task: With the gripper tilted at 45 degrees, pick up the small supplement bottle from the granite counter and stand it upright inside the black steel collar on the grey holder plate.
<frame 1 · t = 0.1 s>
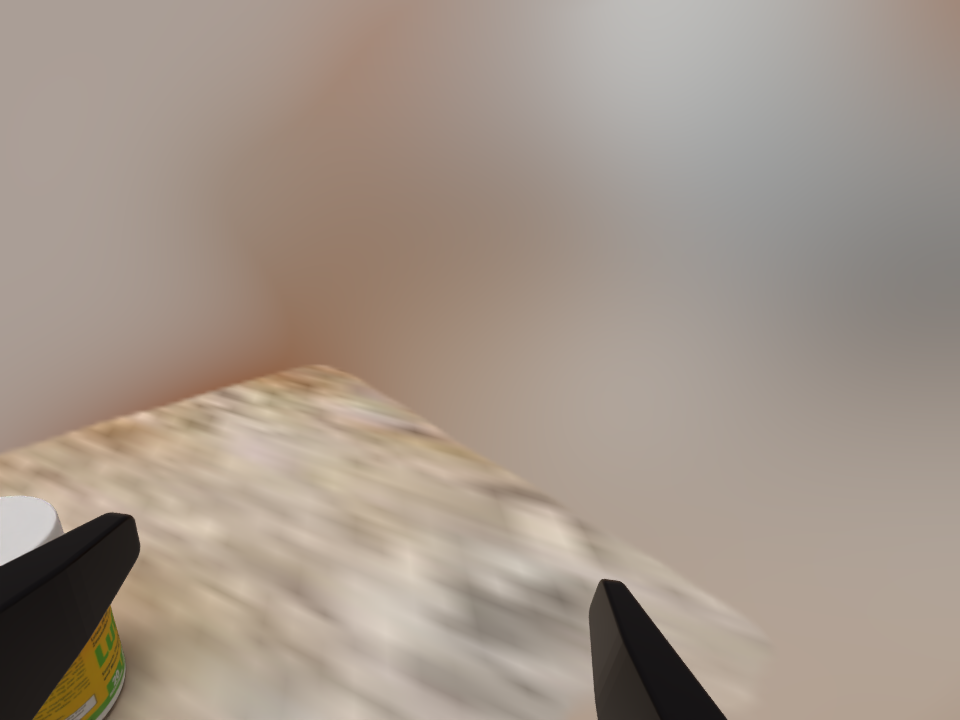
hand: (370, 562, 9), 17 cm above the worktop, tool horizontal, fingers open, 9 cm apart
supplement bottle: (50, 705, 20), on the worktop
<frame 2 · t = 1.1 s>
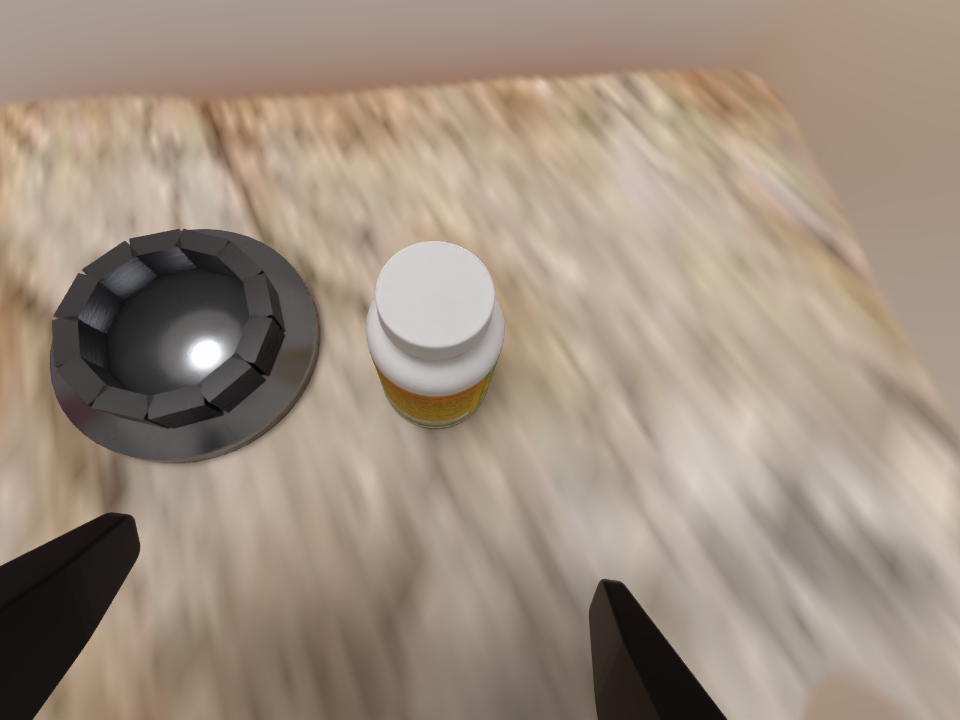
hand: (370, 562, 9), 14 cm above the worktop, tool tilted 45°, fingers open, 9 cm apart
collar holder: (198, 343, 24), on the worktop
supplement bottle: (436, 379, 25), on the worktop
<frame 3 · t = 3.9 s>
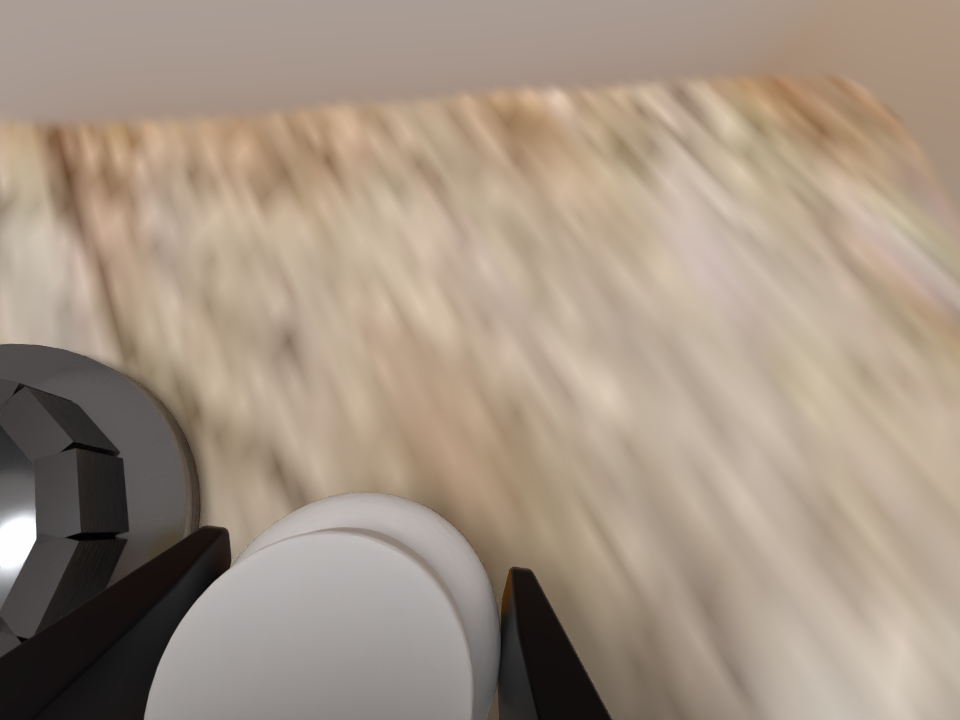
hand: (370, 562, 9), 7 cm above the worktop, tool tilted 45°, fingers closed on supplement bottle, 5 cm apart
supplement bottle: (390, 594, 15), on the worktop, touching gripper
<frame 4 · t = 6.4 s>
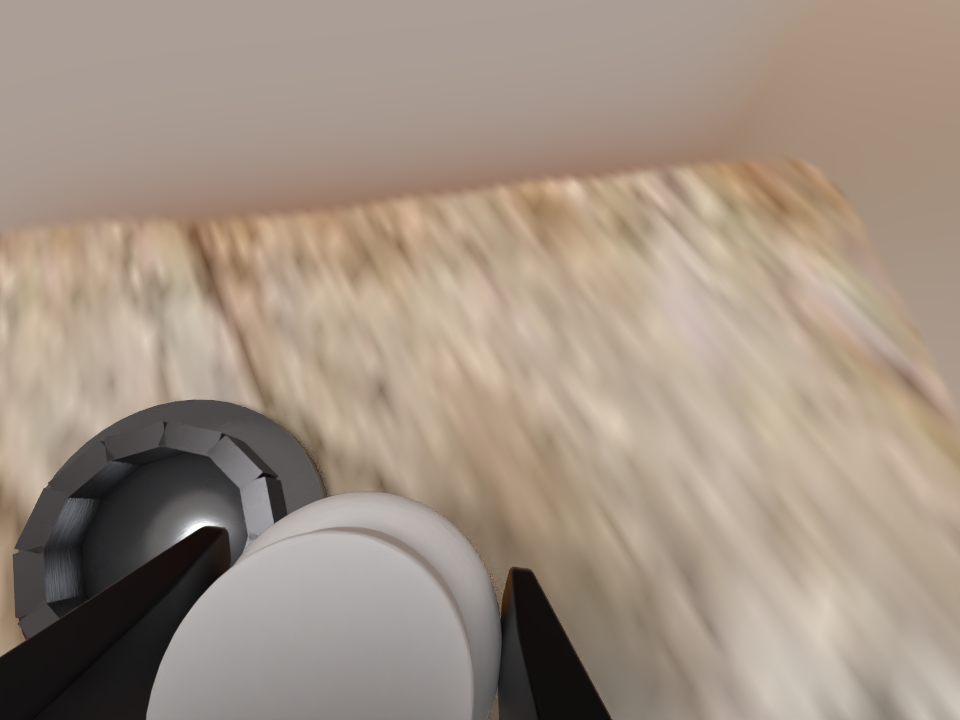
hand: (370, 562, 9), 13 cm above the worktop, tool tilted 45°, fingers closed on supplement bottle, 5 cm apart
collar holder: (190, 539, 21), on the worktop
supplement bottle: (392, 593, 15), point 6 cm above the worktop, touching gripper
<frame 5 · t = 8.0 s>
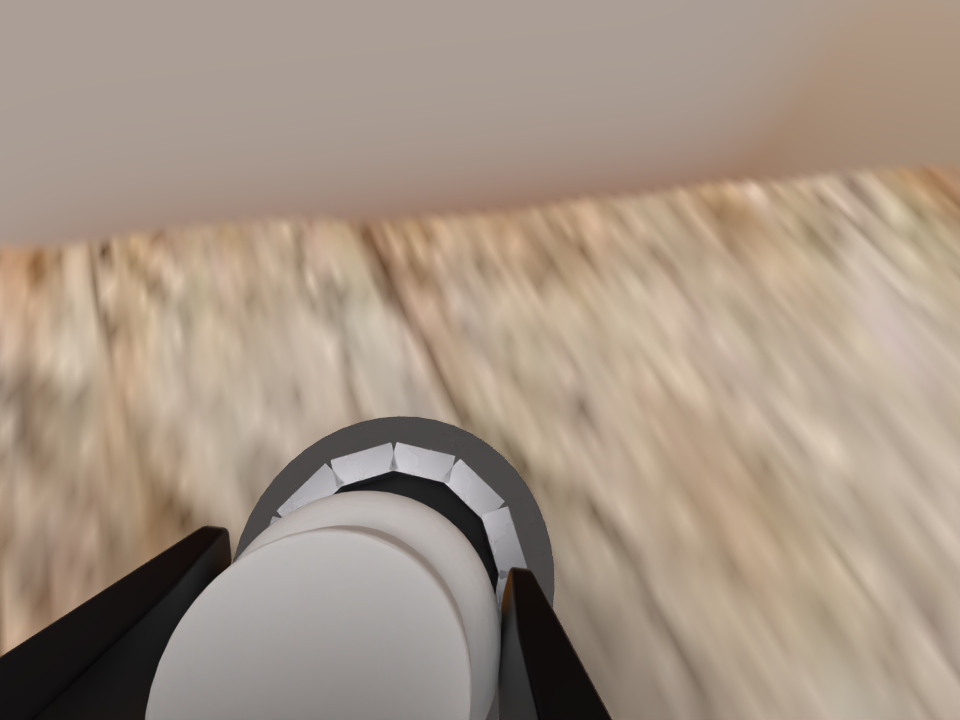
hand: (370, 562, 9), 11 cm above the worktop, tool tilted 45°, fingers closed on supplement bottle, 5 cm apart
collar holder: (399, 570, 19), on the worktop
supplement bottle: (392, 592, 15), point 4 cm above the worktop, touching gripper
when the fingers open (9 cm above the worktop, at t = 9.2 s): supplement bottle drops 1 cm, resting on collar holder.
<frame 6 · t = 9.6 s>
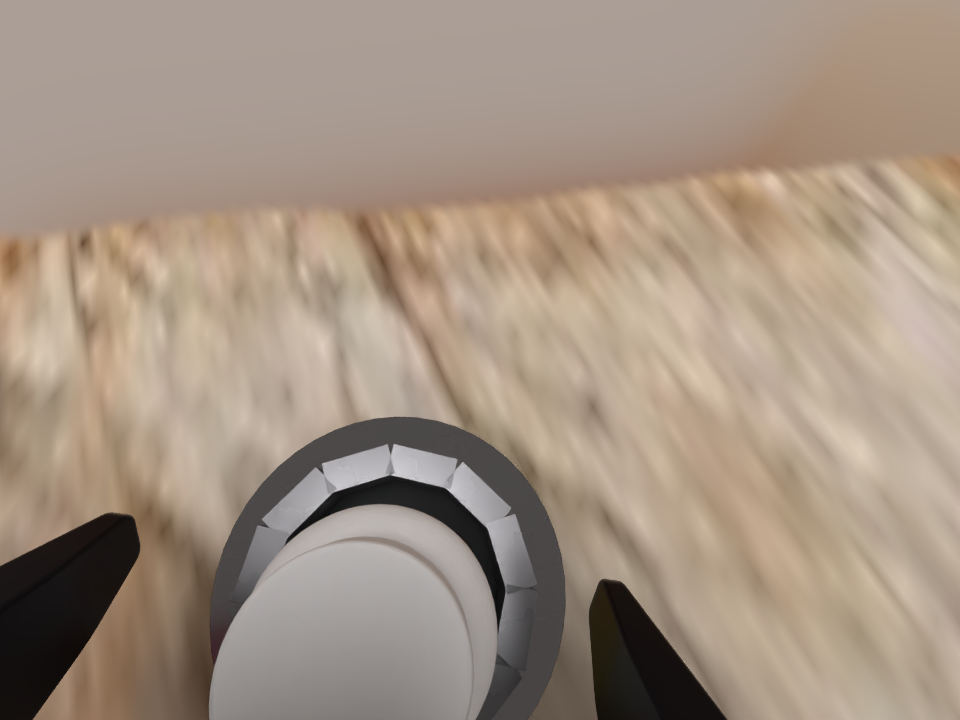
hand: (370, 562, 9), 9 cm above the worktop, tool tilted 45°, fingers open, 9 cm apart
collar holder: (396, 584, 18), on the worktop
supplement bottle: (398, 593, 17), point 1 cm above the worktop, touching collar holder
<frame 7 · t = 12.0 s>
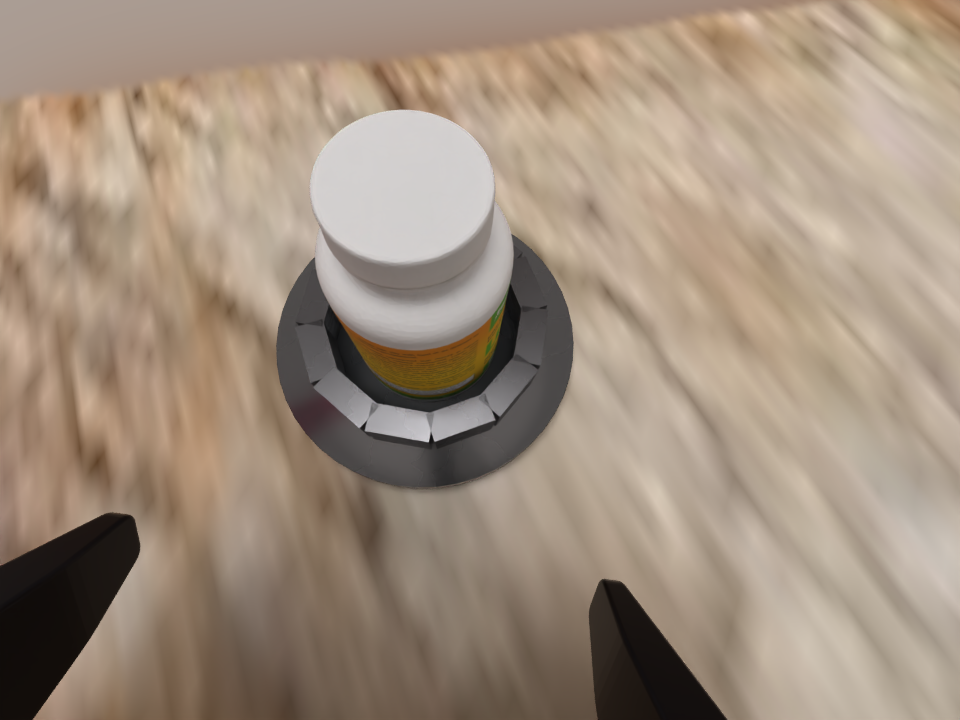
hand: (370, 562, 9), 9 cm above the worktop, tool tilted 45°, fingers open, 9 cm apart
collar holder: (428, 344, 21), on the worktop
supplement bottle: (430, 340, 20), point 1 cm above the worktop, touching collar holder
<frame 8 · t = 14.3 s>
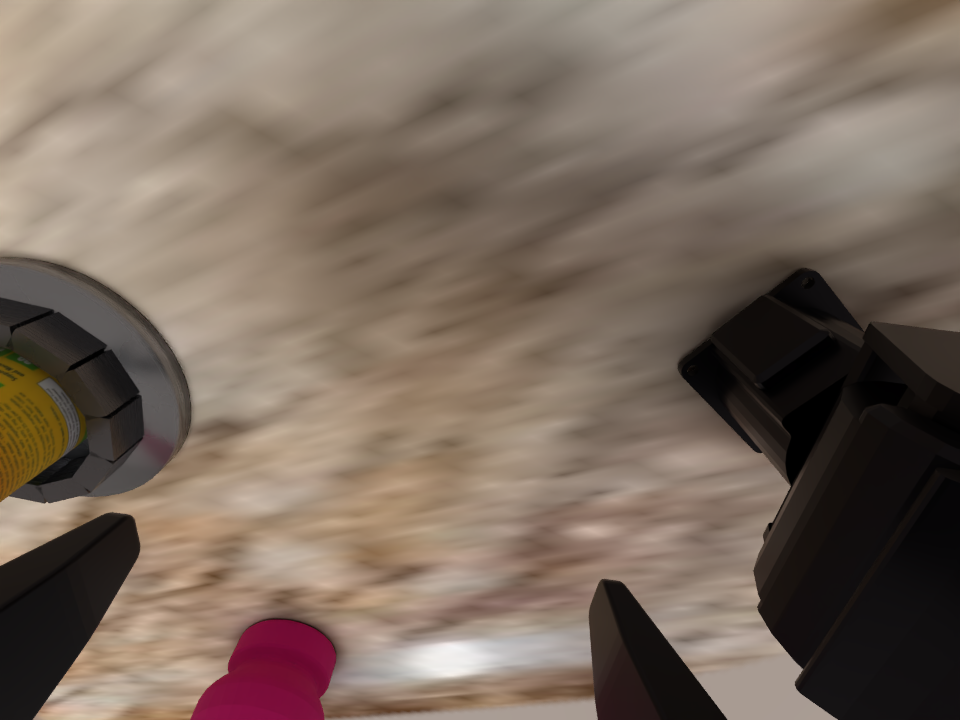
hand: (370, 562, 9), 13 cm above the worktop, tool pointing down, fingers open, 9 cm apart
collar holder: (64, 381, 23), on the worktop
pepper mill: (290, 646, 31), on the worktop
supplement bottle: (48, 389, 22), point 1 cm above the worktop, touching collar holder
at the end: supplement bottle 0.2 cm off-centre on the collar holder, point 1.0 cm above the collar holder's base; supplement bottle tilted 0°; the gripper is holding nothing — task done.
